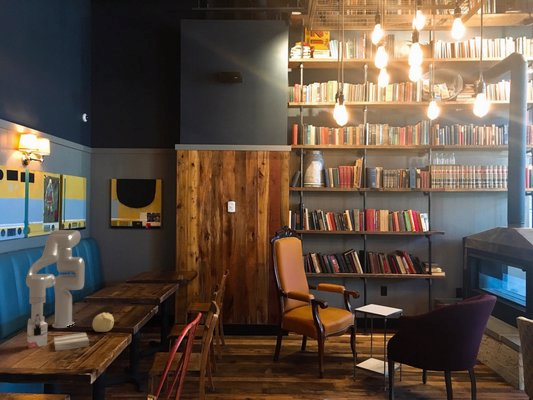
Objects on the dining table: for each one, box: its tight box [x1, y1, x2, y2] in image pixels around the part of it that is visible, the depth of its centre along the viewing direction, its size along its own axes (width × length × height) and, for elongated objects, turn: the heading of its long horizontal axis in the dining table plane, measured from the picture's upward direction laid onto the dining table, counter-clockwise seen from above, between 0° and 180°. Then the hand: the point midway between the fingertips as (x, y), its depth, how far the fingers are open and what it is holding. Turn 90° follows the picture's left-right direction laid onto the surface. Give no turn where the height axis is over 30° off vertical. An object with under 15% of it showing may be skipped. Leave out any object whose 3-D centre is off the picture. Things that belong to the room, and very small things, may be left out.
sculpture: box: [92, 312, 115, 333], centre depth 252 cm, size 11×12×11 cm
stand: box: [53, 332, 90, 352], centre depth 226 cm, size 16×16×3 cm
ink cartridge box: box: [26, 316, 48, 349], centre depth 224 cm, size 9×5×15 cm, turn 134°
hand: (37, 333), depth 224 cm, fingers closed on ink cartridge box, 5 cm apart
